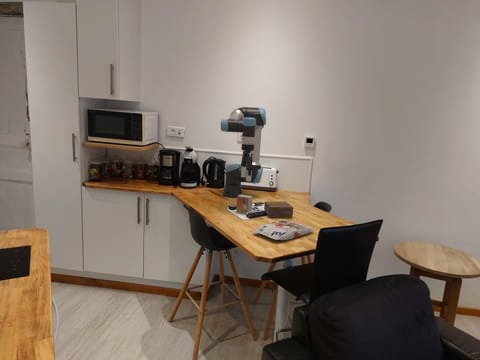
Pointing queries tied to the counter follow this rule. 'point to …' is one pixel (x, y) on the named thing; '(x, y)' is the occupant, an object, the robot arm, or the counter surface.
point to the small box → (244, 204)
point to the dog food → (283, 230)
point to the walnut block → (278, 209)
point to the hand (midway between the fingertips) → (245, 179)
